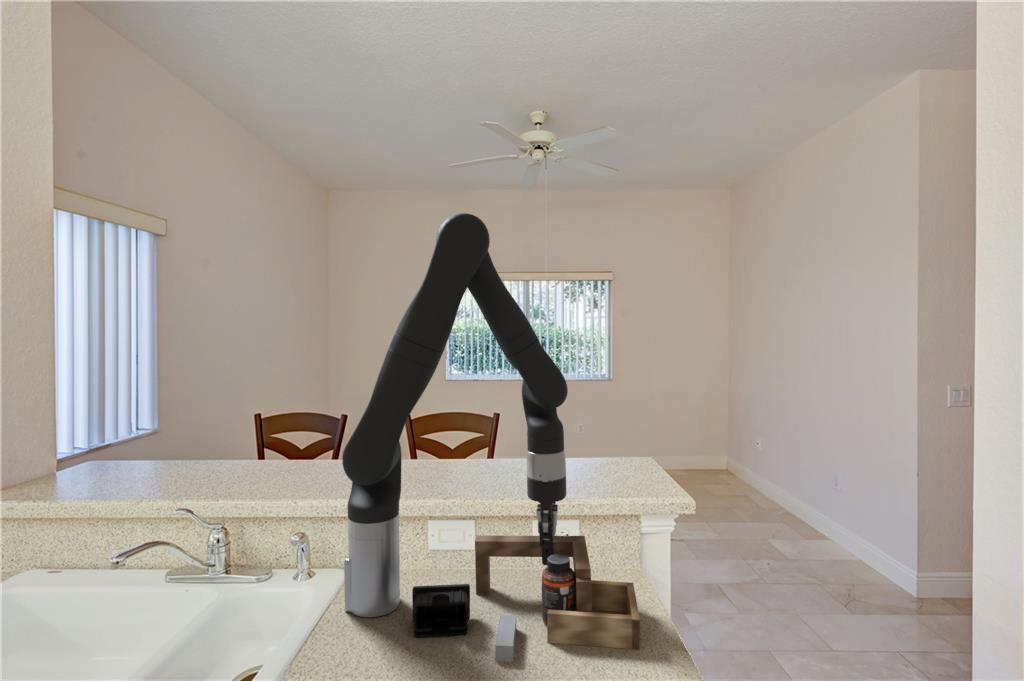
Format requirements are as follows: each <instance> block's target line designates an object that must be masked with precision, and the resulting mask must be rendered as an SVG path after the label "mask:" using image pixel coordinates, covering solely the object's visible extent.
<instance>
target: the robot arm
mask: <svg viewBox="0 0 1024 681" xmlns="http://www.w3.org/2000/svg"><path fill="white" fill-rule="evenodd" d="M435 240H436V241H435V246H434V249H433V253H432V256H431V258H430V262H429V265H428V267H427V271H426V275H425V276H424V279H423V280H422V282H421V283H422V284H421V285H420V287H419V289H418V291H417V292H416V294H415V296H414V297H413V299H412V300H411V302H410V303H409V304H408V307H406V308H407V309H406V311H405V313H404V314H403V316H402V318H401V319H400V322H398V326H397V328H396V330H395V332H394V334H393V336H392V340H391V342H390V344H389V346H388V349H387V352H386V354H385V357H384V360H383V362H382V365H381V367H380V371H379V374H378V375H377V379H376V382H375V385H374V388H373V391H372V395H371V397H370V399H369V402H368V405H367V406H366V408H365V411H364V413H363V414H362V415H361V416H362V417H361V418H360V420H359V422H358V423H357V425H356V427H355V429H354V430H353V432H352V435H351V436H350V438H349V440H348V442H347V443H346V445H345V446H344V448H343V452H342V459H341V460H342V467H343V471H344V473H345V475H346V477H347V478H348V479H349V480H350V481H351V491H350V494H349V498H348V503H347V534H348V535H347V537H348V539H347V544H348V545H347V546H348V547H347V550H348V552H347V556H346V558H345V559H344V561H343V570H344V571H343V574H344V575H343V579H344V582H343V583H344V587H343V588H344V611H345V612H350V613H352V614H353V615H355V616H358V617H362V618H376V617H381V616H385V615H388V614H390V613H391V612H394V611H395V610H396V609H397V608H398V607H399V606H400V603H401V598H400V596H401V585H400V583H401V582H400V581H401V575H400V574H401V573H400V572H401V571H400V569H401V568H400V567H401V566H400V565H401V564H400V561H401V560H400V556H401V555H400V500H401V494H402V447H401V442H400V440H401V436H402V433H403V430H404V428H405V425H406V422H407V420H408V419H409V416H410V415H411V414H412V412H413V409H414V408H415V406H416V405H417V403H418V402H419V400H420V399H421V397H422V396H423V394H424V392H425V391H426V389H427V387H428V385H429V384H430V381H431V380H432V378H433V376H434V374H435V372H436V369H437V368H438V365H439V363H440V361H441V358H442V357H443V353H444V351H445V349H446V345H447V343H448V341H449V339H450V336H451V333H452V330H453V327H454V324H455V321H456V317H457V314H458V311H459V307H460V305H461V302H462V299H463V297H464V295H465V292H466V291H467V289H468V291H469V292H470V293H471V295H472V297H473V299H474V300H475V302H476V304H477V306H478V308H479V310H480V312H481V314H482V315H483V318H484V320H485V322H486V324H487V325H488V327H489V329H490V332H491V333H492V335H493V336H494V339H495V341H496V343H497V344H498V346H499V348H500V350H501V351H502V353H503V355H504V357H505V358H506V360H507V362H508V363H509V364H510V365H511V366H512V367H513V368H514V369H515V370H516V371H517V372H518V373H519V375H520V376H521V378H522V385H521V398H522V399H521V400H522V406H523V411H524V416H525V417H524V418H525V421H526V428H527V432H526V436H527V437H526V438H527V439H526V440H527V442H526V444H527V453H526V454H527V456H526V487H527V488H526V493H527V497H528V498H529V500H530V501H533V502H538V503H537V506H536V507H537V508H536V514H535V515H536V519H537V533H538V534H539V535H538V536H539V537H540V542H539V545H540V547H542V557H541V564H542V565H543V566H547V558H548V557H549V556H551V555H554V550H553V547H554V536H556V533H557V526H558V513H559V511H558V510H559V505H558V502H561V501H562V500H564V499H565V498H566V497H567V467H566V466H567V461H566V455H565V431H564V425H563V423H562V421H561V420H560V418H559V415H558V411H557V410H558V409H557V408H560V407H561V405H563V404H564V403H565V401H566V399H567V397H568V388H569V387H568V385H567V381H566V379H565V377H564V375H563V373H562V371H561V370H560V368H559V366H557V364H556V363H555V362H554V361H553V359H552V357H551V356H550V355H549V354H548V352H547V351H546V350H545V349H544V347H543V346H542V344H541V341H540V340H539V337H538V336H537V334H536V332H535V330H534V328H533V326H532V325H531V322H530V321H529V320H528V317H527V316H526V315H525V313H524V312H523V310H522V308H521V307H520V305H519V304H518V303H517V301H516V299H514V297H513V295H512V294H511V293H510V292H509V290H508V288H507V287H506V285H505V284H504V282H503V281H502V279H501V277H500V275H499V273H498V271H497V270H496V269H497V268H495V266H494V263H493V260H492V258H491V255H490V253H489V248H490V241H491V240H490V234H489V230H488V227H487V225H486V224H485V222H484V221H483V220H482V219H480V218H479V217H478V216H476V215H475V214H471V213H465V212H464V213H457V214H454V215H451V216H449V217H448V218H447V219H446V220H444V221H443V222H442V224H441V225H440V226H439V228H438V230H437V234H436V239H435ZM556 503H557V504H556ZM544 539H550V540H544Z"/></svg>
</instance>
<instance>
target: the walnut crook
mask: <svg viewBox="0 0 1024 681" xmlns="http://www.w3.org/2000/svg"><path fill="white" fill-rule="evenodd" d="M585 537H586V536H585V535H555V536H554V547H553V550H554V555H556V554H560V555H565V556H567V557H569V558H572V562H573V571H574V573H575V590H576V591H575V599H576V600H575V601H576V611H577V612H591V613H593V610H592V582H591V580H592V574H591V573H592V569H591V564H590V559H589V558H590V557H589V553H588V548H587V542H586V538H585ZM544 540H550V539H544ZM539 542H540V537H539V535H485V534H483V535H480V534H479V535H477V534H476V536H475V540H474V550H475V551H474V557H475V558H474V559H475V561H474V562H475V565H474V566H475V595H490V591H491V557H492V558H493V557H495V558H496V557H497V558H499V557H501V558H505V557H509V558H510V557H511V558H514V557H515V558H521V557H522V558H531V557H532V558H542V547H540V545H539Z"/></svg>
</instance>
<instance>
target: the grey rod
mask: <svg viewBox="0 0 1024 681" xmlns="http://www.w3.org/2000/svg"><path fill="white" fill-rule="evenodd" d="M498 619H499V620H498V624H497V625H498V626H497V633H496V638H495V644H494V661H495V662H511V663H512V662H514V656H515V655H514V654H515V646H516V636H517V614H504V613H503V614H500V615H499V618H498Z"/></svg>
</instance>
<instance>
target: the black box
mask: <svg viewBox="0 0 1024 681" xmlns="http://www.w3.org/2000/svg"><path fill="white" fill-rule="evenodd" d="M470 586H471V585H470V583H462V584H461V583H459V584H458V583H457V584H437V585H436V584H435V585H417V586H416V585H415V586H412V590H411V591H412V594H411V595H412V596H411V597H412V603H411V604H412V609H411V611H412V626H413V630H414V631H413V637H414V639H417V640H418V639H433V638H435V639H436V638H450V637H454V638H455V637H466V636H467V635H468V632H469V631H468V630H469V629H468V628H469V627H468V624H469V622H470V619H471V587H470Z"/></svg>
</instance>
